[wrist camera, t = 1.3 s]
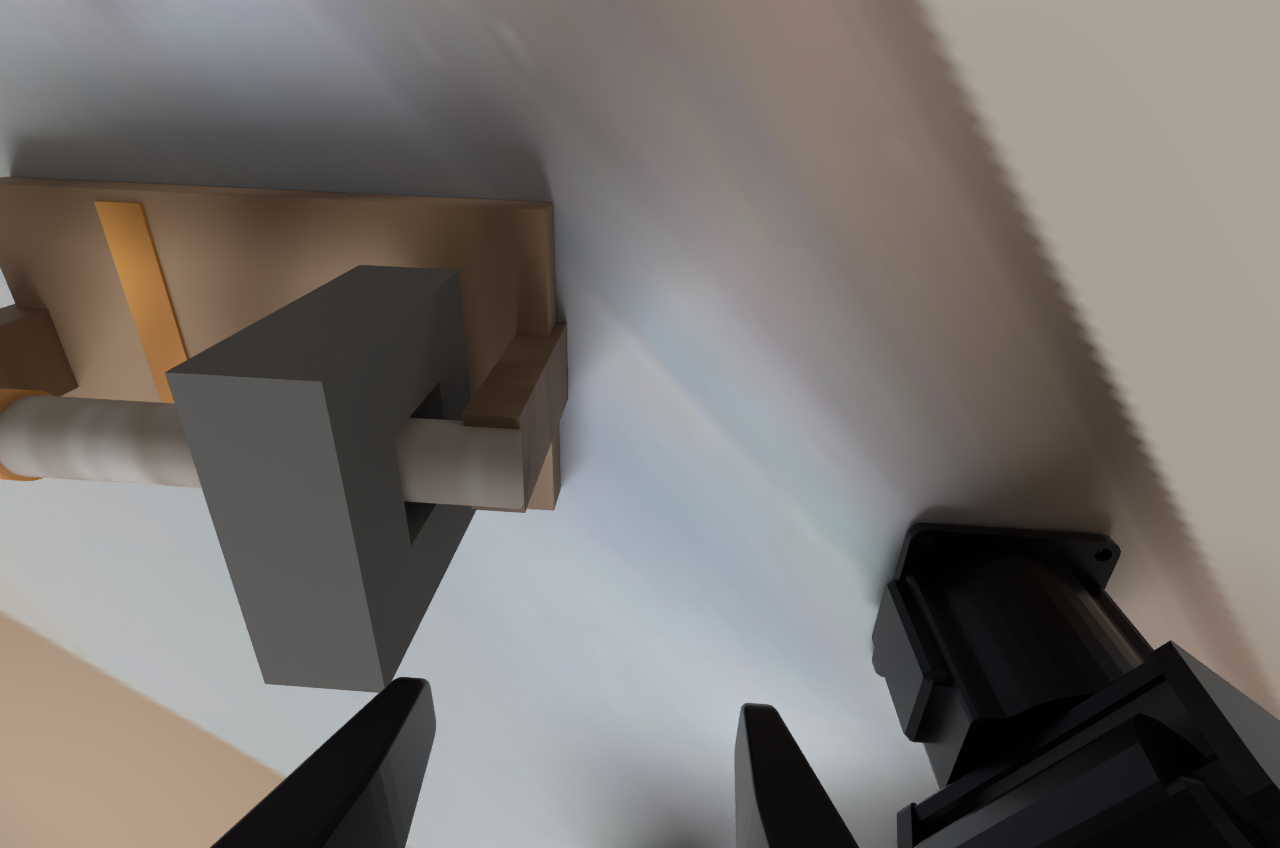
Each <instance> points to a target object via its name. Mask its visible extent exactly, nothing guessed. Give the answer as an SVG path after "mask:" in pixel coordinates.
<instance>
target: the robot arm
mask: <svg viewBox="0 0 1280 848" xmlns="http://www.w3.org/2000/svg"><path fill="white" fill-rule="evenodd" d="M923 537H929V538H928V539H927V540H926V541H924V542H918V541H919V539H921V538H923ZM1101 549H1103V550H1102V551H1101V552H1099V553H1097V551H1099V550H1101ZM1120 553H1121V550H1120V548H1119V546H1118V545H1117V544H1116V543H1115V542H1114V541H1113V540H1112V539H1111V538H1110V537H1109V536H1106V535H1102V534H1087V533H1071V532H1056V531H1041V530H1025V529H1010V528H995V527H979V526H964V525H949V524H933V523H919V524H917V525H914V526H912V527H911V528H910V529H909V530H908V532H907V533H906V536H905V540H904V543H903V547H902V551H901V554H900V558H899V561H898V565H897V569H896V572H895V576H894V579H891V580H890V581H889V582H888V583H887V584H886V586H885V589H884V593H883V597H882V600H881V604H880V608H879V612H878V615H877V619H876V623H875V627H874V630H873V634H872V640H873V643H874V646H875V649H874V653H873V656H872V663H873V666H874V669H875V671H876V673H877V674H878V675H880V676H882V677H885V679H886V682H887V685H888V688H889V691H890V694H891V697H892V700H893V703H894V706H895V709H896V712H897V715H898V718H899V721H900V724H901V727H902V730H903V733H904V734H905V735H906V737H907V738H908V739H909V740H910V741H912V742H920V743H923V744H924V747H925V750H926V753H927V756H928V758H929V761H930V764H931V767H932V770H933V772H934V775H935V778H936V781H937V783H938V786H939V789H940V790H939V791H938V792H936V793H934V794H933V795H931V796H930V797H928V798H926V799H925V800H923V801H922V802H920V803H918V804H916V803H911V804H909V805H908V806H906V807H905V808H903V809H902V810H900V811H898V812H897V842H898V848H1280V720H1278V719H1277V718H1275V717H1274V716H1273V715H1271V714H1270V713H1269V712H1267V711H1266V710H1265V709H1263V708H1262V707H1261V706H1259V705H1258V704H1257V703H1255V702H1254V701H1253V700H1251V699H1250V698H1248V697H1247V696H1246V695H1244V694H1243V693H1242V692H1240V691H1239V690H1238V689H1236V688H1235V687H1234V686H1232V685H1231V684H1230V683H1228V682H1227V681H1226V680H1224V679H1223V678H1221V677H1220V676H1219V675H1217V674H1216V673H1215V672H1213V671H1212V670H1211V669H1209V668H1208V667H1207V666H1205V665H1204V664H1203V663H1201V662H1200V661H1199V660H1197V659H1196V658H1194V657H1193V656H1192V655H1190V654H1189V653H1188V652H1186V651H1185V650H1184V649H1182V648H1181V647H1180V646H1178V645H1177V644H1176V643H1174V642H1173V641H1171V640H1170V641H1169V642H1167V643H1166V644H1164V645H1162V646H1161V647H1159V648H1158V649H1156V650H1154V649H1153V648H1152V647H1151V646H1150V645H1149V643H1148V642H1147V641H1146V640H1145V638H1144V637H1143V636H1142V635H1141V634H1140V632H1139V631H1138V630H1137V629H1136V628H1135V626H1134V625H1133V624H1132V623H1131V622H1130V620H1129V619H1128V618H1127V617H1126V615H1125V614H1124V613H1123V612H1122V611H1121V609H1120V608H1119V607H1118V606H1117V605H1116V603H1115V602H1114V601H1113V600H1112V599H1111V597H1110V596H1109V595H1108V594H1107V592H1106V591H1105V590H1104V589H1105V587H1106V585H1107V582H1108V580H1109V578H1110V576H1111V574H1112V572H1113V570H1114V568H1115V565H1116V563H1117V561H1118V559H1119V557H1120ZM435 731H436V717H435V711H434V705H433V699H432V693H431V687H430V684H429V682H428V681H427V680H426V679H422V678H409V677H399V678H397V679H395V680H393V681H392V682H391V683H390V684H388V685H387V686H386V687H385V688H384V689H383V690H382V691H381V692H380V693H379V694H378V695H376V696H375V697H374V698H373V699H372V700H371V701H370V702H369V703H368V704H367V705H366V706H364V707H363V708H362V709H361V710H360V711H359V712H358V713H357V714H356V715H355V716H353V717H352V718H351V719H350V720H349V721H348V722H347V723H346V724H345V725H344V726H343V727H341V728H340V729H339V730H338V731H337V732H336V733H335V734H334V735H333V736H332V737H330V738H329V739H328V740H327V741H326V742H325V743H324V744H323V745H322V746H321V747H320V748H318V749H317V750H316V751H315V752H314V753H313V754H312V755H311V756H310V757H309V758H307V759H306V760H305V761H304V762H303V763H302V764H301V765H300V766H299V767H298V768H297V769H295V770H294V771H293V772H292V773H291V774H290V775H289V776H288V777H287V778H286V779H285V780H283V781H282V782H281V783H280V784H279V785H278V786H277V787H276V788H275V789H274V790H272V791H271V792H270V793H269V794H268V795H267V796H266V797H265V798H264V799H263V800H262V801H260V802H259V803H258V804H257V805H256V806H255V807H254V808H253V809H252V810H251V811H249V812H248V814H246V815H245V816H244V817H243V818H242V819H241V820H240V821H239V822H238V823H236V824H235V825H234V826H233V827H232V828H231V829H230V830H229V831H228V832H226V833H225V834H224V835H223V836H222V837H221V838H220V839H219V840H218V841H217V842H216V843H215V844H213V845H212V846H211V847H210V848H405V845H406V842H407V838H408V834H409V831H410V827H411V823H412V819H413V816H414V812H415V808H416V804H417V801H418V797H419V793H420V790H421V786H422V782H423V778H424V775H425V771H426V767H427V764H428V760H429V756H430V752H431V749H432V745H433V741H434V737H435ZM735 801H736V842H737V848H859V846H858V845H857V843H856V841H855V840H854V838H853V836H852V835H851V833H850V831H849V830H848V828H847V826H846V825H845V823H844V821H843V820H842V818H841V816H840V815H839V813H838V811H837V810H836V808H835V806H834V805H833V803H832V801H831V800H830V798H829V796H828V795H827V793H826V791H825V790H824V788H823V786H822V785H821V783H820V781H819V780H818V778H817V776H816V775H815V773H814V771H813V770H812V768H811V766H810V765H809V763H808V761H807V760H806V758H805V756H804V755H803V753H802V751H801V750H800V748H799V746H798V745H797V743H796V741H795V740H794V738H793V736H792V735H791V733H790V731H789V730H788V728H787V726H786V725H785V723H784V721H783V720H782V718H781V716H780V715H779V713H778V711H777V710H776V709H775V708H774V707H773V706H771V705H768V704H754V703H745V704H743V705H742V707H741V710H740V717H739V723H738V730H737V737H736V743H735Z"/></svg>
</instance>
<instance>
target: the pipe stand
mask: <svg viewBox="0 0 1280 848" xmlns="http://www.w3.org/2000/svg"><path fill="white" fill-rule="evenodd" d="M358 265H374V266H393V267H412V268H432V269H451V270H459V276H460V287H461V298H462V309H463V320H464V331H465V341H466V352H467V363H468V374H469V385H470V395H471V401H470V402H469V404H468V405H467V407H466V408H465V410H464V411H463V413H462V417H463V421H455V420H439V419H422V418H409V419H408V420H407V421H406V422H405V423H404V425H403V426H402V427H401V428H400V429H399V431H398V432H397V433H396V434H395V435H394V441H395V447H396V454H397V460H398V466H399V473H400V479H401V485H402V492H403V498H404V501H407V502H422V503H437V504H452V505H467V506H471V507H472V509H475V510H490V511H505V512H520V513H525V511H526V509H540V510H554V509H555V505H556V502H557V499H558V496H559V493H560V449H559V421H560V419H561V416H562V413H563V411H564V408H565V405H566V403H567V400H568V366H567V323H559V322H556V286H555V245H554V204H553V202H532V201H511V200H490V199H468V198H447V197H426V196H405V195H384V194H362V193H341V192H320V191H299V190H278V189H256V188H235V187H214V186H193V185H172V184H150V183H129V182H108V181H87V180H65V179H44V178H23V177H3V178H0V267H1V270H2V272H3V275H4V277H5V279H6V282H7V284H8V287H9V289H10V291H11V294H12V296H13V299H14V301H15V303H16V304H13V305H10V306H7V307H4V308H1V309H0V479H3V480H18V481H34V480H38V479H42V478H58V479H73V480H88V481H103V482H119V483H134V484H149V485H164V486H179V487H194V488H202V487H201V484H200V481H199V478H198V475H197V471H196V468H195V465H194V462H193V459H192V456H191V453H190V450H189V447H188V444H187V441H186V437H185V434H184V431H183V428H182V425H181V422H180V419H179V416H178V413H177V410H176V407H175V403H174V400H173V397H172V394H171V391H170V388H169V385H168V382H167V379H166V376H165V373H164V372H166V371H168V370H170V369H172V368H173V367H175V366H177V365H179V364H181V363H182V362H184V361H186V360H188V359H190V358H191V357H193V356H195V355H197V354H199V353H201V352H202V351H204V350H206V349H208V348H210V347H211V346H213V345H215V344H217V343H219V342H220V341H222V340H224V339H226V338H228V337H230V336H231V335H233V334H235V333H237V332H239V331H240V330H242V329H244V328H246V327H248V326H249V325H251V324H253V323H255V322H257V321H259V320H260V319H262V318H264V317H266V316H268V315H269V314H271V313H273V312H275V311H277V310H278V309H280V308H282V307H284V306H286V305H288V304H289V303H291V302H293V301H295V300H297V299H298V298H300V297H302V296H304V295H306V294H308V293H309V292H311V291H313V290H315V289H317V288H318V287H320V286H322V285H324V284H326V283H327V282H329V281H331V280H333V279H335V278H337V277H338V276H340V275H342V274H344V273H346V272H347V271H349V270H351V269H353V268H355V267H356V266H358Z"/></svg>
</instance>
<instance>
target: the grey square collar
mask: <svg viewBox="0 0 1280 848" xmlns="http://www.w3.org/2000/svg"><path fill="white" fill-rule="evenodd" d="M164 373H165V376H166V379H167V382H168V385H169V388H170V391H171V394H172V397H173V400H174V403H175V407H176V410H177V413H178V416H179V419H180V422H181V425H182V428H183V431H184V434H185V437H186V441H187V444H188V447H189V450H190V453H191V456H192V459H193V462H194V465H195V468H196V471H197V475H198V478H199V481H200V484H201V487H202V490H203V493H204V496H205V499H206V502H207V505H208V509H209V512H210V515H211V518H212V521H213V524H214V527H215V530H216V533H217V536H218V539H219V543H220V546H221V549H222V552H223V555H224V558H225V561H226V564H227V567H228V570H229V573H230V577H231V580H232V583H233V586H234V589H235V592H236V595H237V598H238V601H239V604H240V607H241V611H242V614H243V617H244V620H245V623H246V626H247V629H248V632H249V635H250V638H251V641H252V645H253V648H254V651H255V654H256V657H257V660H258V663H259V666H260V669H261V672H262V675H263V679H264V682H265V684H274V685H287V686H300V687H313V688H326V689H339V690H351V691H364V692H377V693H380V692H381V691H382V690H383V689H384V688H385V687H386V686H387V685H388V684H390V683H391V681H392V679H393V677H394V675H395V673H396V671H397V669H398V667H399V665H400V663H401V661H402V659H403V657H404V655H405V653H406V651H407V649H408V647H409V645H410V643H411V641H412V639H413V637H414V635H415V633H416V631H417V629H418V627H419V625H420V623H421V621H422V619H423V617H424V615H425V613H426V611H427V609H428V607H429V605H430V602H431V600H432V598H433V596H434V594H435V592H436V590H437V588H438V586H439V584H440V582H441V580H442V578H443V576H444V574H445V572H446V570H447V568H448V566H449V564H450V562H451V560H452V558H453V556H454V554H455V552H456V550H457V548H458V546H459V544H460V542H461V540H462V538H463V536H464V534H465V532H466V530H467V528H468V526H469V524H470V522H471V520H472V518H473V516H474V513H475V511H476V510H475V509H472V507H471V506H467V505H452V504H437V503H422V502H407V501H404V498H403V492H402V485H401V479H400V473H399V466H398V460H397V454H396V447H395V441H394V435H395V434H396V433H397V432H398V431H399V429H400V428H401V427H402V426H403V425H404V423H405V422H406V421H407V420H408V419H409V418H422V419H439V420H455V421H463V417H462V413H463V411H464V410H465V408H466V407H467V405H468V404H469V402H470V401H471V395H470V385H469V374H468V363H467V352H466V341H465V331H464V320H463V309H462V298H461V287H460V276H459V270H451V269H432V268H412V267H393V266H374V265H358V266H356V267H355V268H353V269H351V270H349V271H347V272H346V273H344V274H342V275H340V276H338V277H337V278H335V279H333V280H331V281H329V282H327V283H326V284H324V285H322V286H320V287H318V288H317V289H315V290H313V291H311V292H309V293H308V294H306V295H304V296H302V297H300V298H298V299H297V300H295V301H293V302H291V303H289V304H288V305H286V306H284V307H282V308H280V309H278V310H277V311H275V312H273V313H271V314H269V315H268V316H266V317H264V318H262V319H260V320H259V321H257V322H255V323H253V324H251V325H249V326H248V327H246V328H244V329H242V330H240V331H239V332H237V333H235V334H233V335H231V336H230V337H228V338H226V339H224V340H222V341H220V342H219V343H217V344H215V345H213V346H211V347H210V348H208V349H206V350H204V351H202V352H201V353H199V354H197V355H195V356H193V357H191V358H190V359H188V360H186V361H184V362H182V363H181V364H179V365H177V366H175V367H173V368H172V369H170V370H168V371H166V372H164Z"/></svg>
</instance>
